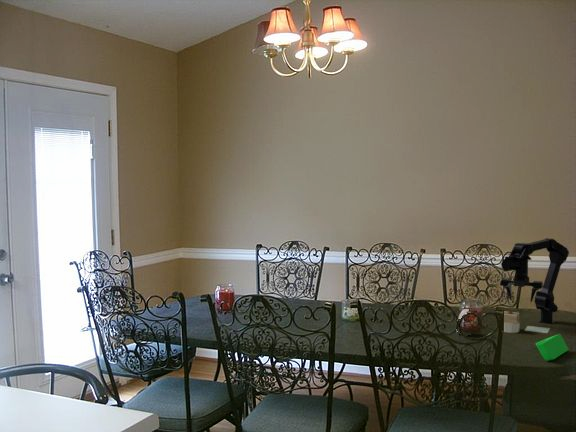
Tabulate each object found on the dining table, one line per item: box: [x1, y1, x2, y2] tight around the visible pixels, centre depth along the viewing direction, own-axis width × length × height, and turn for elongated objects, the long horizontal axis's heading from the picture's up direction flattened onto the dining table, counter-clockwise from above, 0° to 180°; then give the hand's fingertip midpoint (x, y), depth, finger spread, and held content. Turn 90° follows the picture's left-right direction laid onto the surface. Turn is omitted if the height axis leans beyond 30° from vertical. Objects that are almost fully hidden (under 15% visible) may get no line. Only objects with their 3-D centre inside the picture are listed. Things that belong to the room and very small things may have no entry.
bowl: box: [504, 321, 520, 334], centre depth 271 cm, size 8×8×4 cm
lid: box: [504, 310, 520, 324], centre depth 270 cm, size 7×7×5 cm
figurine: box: [456, 308, 469, 333], centre depth 265 cm, size 7×8×12 cm
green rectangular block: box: [535, 333, 570, 362], centre depth 235 cm, size 20×10×7 cm, turn 136°
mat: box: [524, 325, 551, 334], centre depth 272 cm, size 10×10×1 cm
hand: (521, 301), depth 279 cm, fingers open, 9 cm apart
